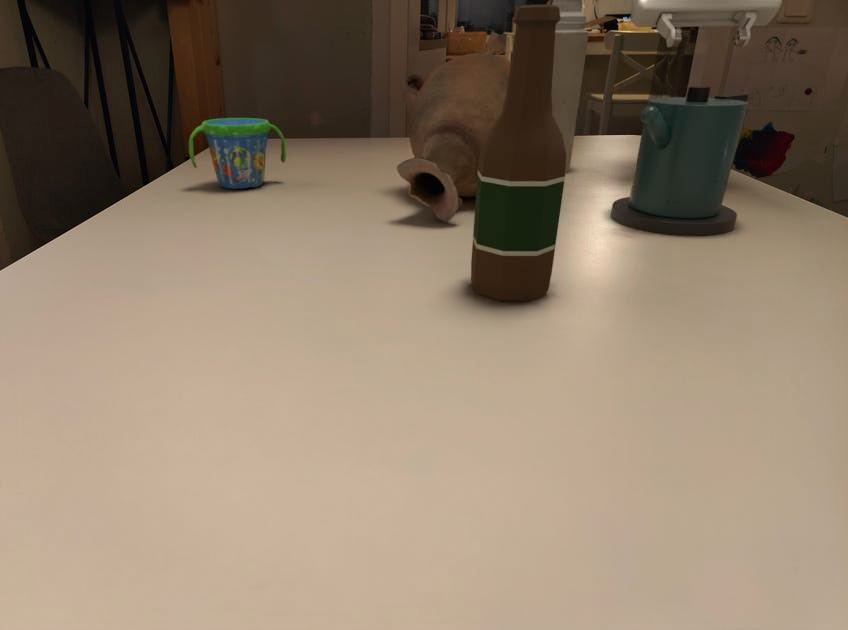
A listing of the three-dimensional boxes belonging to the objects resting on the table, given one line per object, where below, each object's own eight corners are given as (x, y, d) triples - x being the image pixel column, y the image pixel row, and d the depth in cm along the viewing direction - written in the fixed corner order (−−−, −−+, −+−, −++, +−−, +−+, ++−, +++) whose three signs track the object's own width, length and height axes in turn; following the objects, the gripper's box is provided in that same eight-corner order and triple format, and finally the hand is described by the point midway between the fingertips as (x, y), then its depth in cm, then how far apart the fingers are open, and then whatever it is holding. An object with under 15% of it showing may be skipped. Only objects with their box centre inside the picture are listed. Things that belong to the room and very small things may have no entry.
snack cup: (285, 176, 109) (280, 115, 104) (292, 189, 100) (288, 122, 95) (194, 181, 106) (185, 118, 101) (193, 195, 97) (184, 126, 92)
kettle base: (709, 207, 87) (712, 196, 87) (753, 237, 74) (757, 225, 74) (600, 204, 89) (602, 194, 88) (624, 233, 76) (626, 221, 75)
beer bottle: (555, 281, 62) (594, 5, 50) (540, 308, 55) (581, 1, 44) (480, 270, 65) (501, 8, 53) (458, 296, 58) (476, 4, 47)
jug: (453, 175, 109) (372, 248, 88) (429, 56, 99) (331, 108, 79) (569, 161, 97) (507, 241, 77) (554, 25, 88) (479, 77, 68)
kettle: (684, 189, 90) (709, 80, 83) (760, 204, 82) (794, 85, 75) (589, 209, 80) (608, 88, 74) (665, 228, 72) (694, 94, 65)
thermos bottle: (515, 168, 113) (533, -8, 100) (542, 163, 118) (562, -6, 105) (552, 175, 108) (575, -10, 95) (578, 169, 112) (604, -9, 99)
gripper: (635, -48, 91) (641, 26, 87) (781, -51, 89) (794, 24, 85) (621, -11, 97) (627, 60, 93) (758, -13, 95) (769, 59, 91)
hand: (708, 43), depth 89 cm, fingers open, 8 cm apart
